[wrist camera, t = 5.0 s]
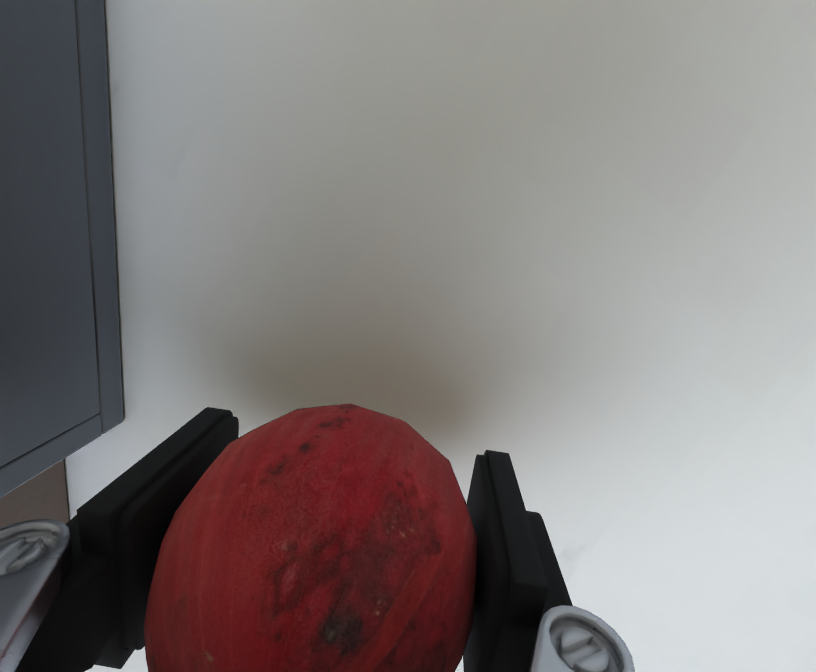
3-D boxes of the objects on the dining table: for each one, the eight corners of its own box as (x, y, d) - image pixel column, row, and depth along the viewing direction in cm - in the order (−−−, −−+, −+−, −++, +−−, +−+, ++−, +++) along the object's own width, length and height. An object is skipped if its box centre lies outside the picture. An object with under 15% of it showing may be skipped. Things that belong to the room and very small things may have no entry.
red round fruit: (349, 312, 11) (109, 549, 3) (509, 451, 11) (657, 941, 4) (223, 456, 12) (-162, 872, 4) (372, 572, 13) (270, 1105, 5)
